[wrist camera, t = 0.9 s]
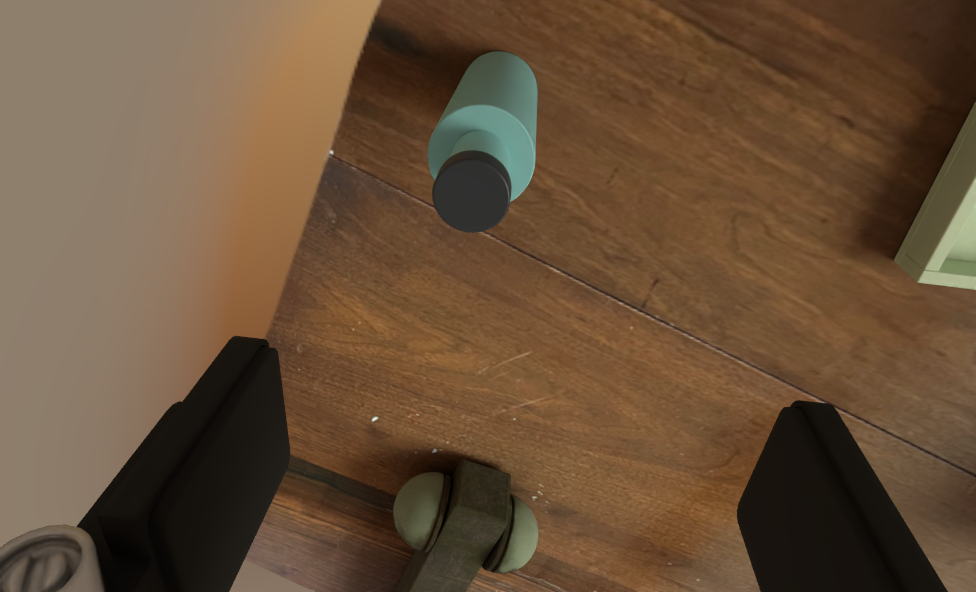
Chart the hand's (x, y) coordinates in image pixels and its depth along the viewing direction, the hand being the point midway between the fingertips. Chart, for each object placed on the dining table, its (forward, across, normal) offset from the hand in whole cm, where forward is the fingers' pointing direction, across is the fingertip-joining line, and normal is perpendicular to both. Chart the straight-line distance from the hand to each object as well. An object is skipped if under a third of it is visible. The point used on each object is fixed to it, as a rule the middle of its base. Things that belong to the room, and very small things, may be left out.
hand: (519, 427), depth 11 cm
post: (+21, 0, +43) cm, 48 cm away
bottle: (+24, +2, -1) cm, 24 cm away
